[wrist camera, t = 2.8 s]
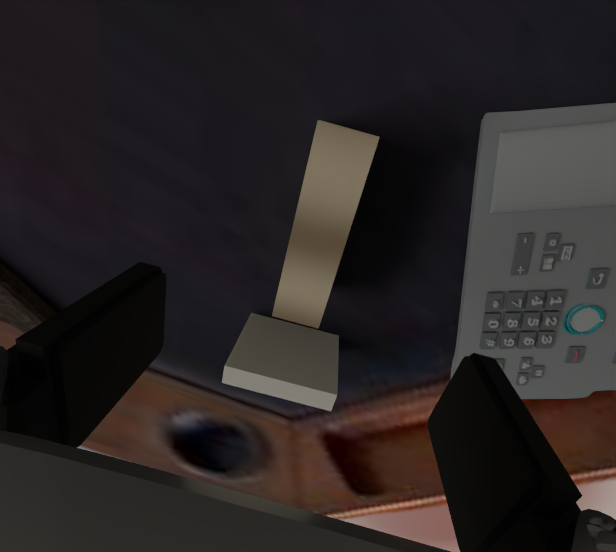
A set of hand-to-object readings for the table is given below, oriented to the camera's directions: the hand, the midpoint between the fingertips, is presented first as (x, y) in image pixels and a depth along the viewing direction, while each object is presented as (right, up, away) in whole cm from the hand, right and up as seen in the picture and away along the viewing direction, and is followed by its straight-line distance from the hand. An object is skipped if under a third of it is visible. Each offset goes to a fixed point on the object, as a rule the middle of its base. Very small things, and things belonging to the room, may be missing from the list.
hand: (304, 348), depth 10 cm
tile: (-1, -3, +19) cm, 19 cm away
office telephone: (+22, +3, +14) cm, 26 cm away
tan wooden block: (+1, +7, +14) cm, 16 cm away
